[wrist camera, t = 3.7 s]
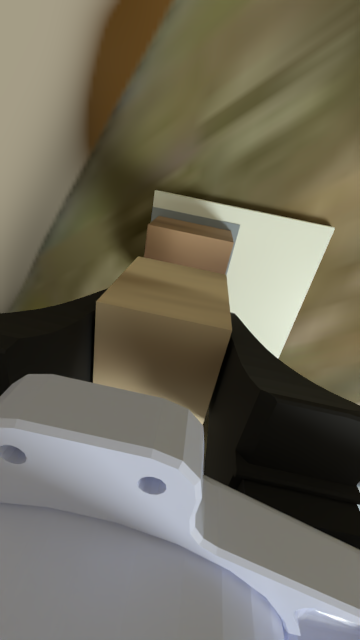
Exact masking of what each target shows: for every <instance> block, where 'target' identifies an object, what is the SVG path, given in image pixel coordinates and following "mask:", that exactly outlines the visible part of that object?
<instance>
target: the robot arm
mask: <svg viewBox="0 0 360 640" xmlns="http://www.w3.org/2000/svg"><path fill="white" fill-rule="evenodd" d="M106 290H107V289H105V290H102V291H100V292H97V293H94V294H91V295H88V296H86V297H83V298H80V299H76V300H73V301H70V302H67V303H63V304H60V305H56V306H51V307H47V308H42V309H36V310H29V311H21V312H13V313H2V314H0V640H360V511H359V508H358V506H357V504H359V505H360V492H359V490H358V487H357V484H358V483H359V481H360V406H359V405H357V404H355V403H353V402H351V401H349V400H346V399H344V398H342V397H340V396H338V395H336V394H333V393H331V392H329V391H327V390H326V389H324V388H322V387H320V386H318V385H316V384H315V383H313V382H311V381H310V380H308V379H306V378H305V377H303V376H301V375H300V374H298V373H297V372H295V371H294V370H292V369H291V368H290V367H288V366H287V365H285V364H284V363H283V362H282V361H280V360H279V359H278V358H277V357H275V356H274V355H273V354H272V353H271V352H270V351H268V350H267V349H266V348H265V347H264V346H263V345H262V344H261V343H260V342H259V341H258V340H257V339H256V338H255V336H254V335H253V334H252V333H251V332H250V331H249V330H248V328H247V327H246V326H245V325H244V324H243V322H242V321H241V320H240V319H239V317H238V316H237V315H236V314H235V313H231V312H230V314H231V324H232V333H231V336H230V339H229V342H228V345H227V349H226V352H225V355H224V358H223V361H222V365H221V368H220V371H219V374H218V378H217V381H216V384H215V387H214V390H213V394H212V397H211V400H210V403H209V424H208V437H207V449H206V460H205V471H204V475H203V462H204V431H203V425H202V424H201V423H200V422H199V420H198V419H197V418H196V417H195V416H194V415H193V413H192V412H191V411H190V410H189V409H187V408H185V407H183V406H181V405H178V404H176V403H174V402H171V401H169V400H167V399H164V398H160V397H155V396H151V395H146V394H141V393H137V392H132V391H128V390H123V389H119V388H114V387H109V386H105V385H100V384H96V383H93V368H94V342H95V317H96V301H97V300H98V299H99V298H100V297H101V296H102V295H103V294H104V292H105V291H106Z"/></svg>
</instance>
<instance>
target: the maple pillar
mask: <svg viewBox="0 0 360 640" xmlns="http://www.w3.org/2000/svg"><path fill="white" fill-rule="evenodd" d="M231 333H232V324H231V314H230V305H229V295H228V286H227V276H226V275H225V274H220V273H216V272H211V271H206V270H201V269H197V268H192V267H187V266H182V265H177V264H173V263H168V262H163V261H158V260H154V259H149V258H144V257H139V256H138V257H137V258H136V259H135V260H134V261H133V262H132V263H131V265H130V266H129V267H128V268H127V269H126V270H125V271H124V272H123V273H122V274H121V275H120V276H119V277H118V279H117V280H116V281H115V282H114V283H113V284H112V285H111V286H110V287H109V288H108V289H107V290H106V291H105V292H104V294H103V295H102V296H101V297H100V298H99V299H98V300H97V301H96V317H95V342H94V368H93V383H96V384H100V385H105V386H109V387H114V388H119V389H123V390H128V391H132V392H137V393H141V394H146V395H151V396H155V397H160V398H164V399H167V400H169V401H171V402H174V403H176V404H178V405H181V406H183V407H185V408H187V409H189V410H190V411H191V412H192V413H193V415H194V416H195V417H196V418H197V419H198V420H199V422H200V423H201V424H202V425H203V422H204V419H205V416H206V413H207V410H208V406H209V403H210V400H211V397H212V394H213V390H214V387H215V384H216V381H217V378H218V374H219V371H220V368H221V365H222V361H223V358H224V355H225V352H226V349H227V345H228V342H229V339H230V336H231Z"/></svg>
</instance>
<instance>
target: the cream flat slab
mask: <svg viewBox="0 0 360 640" xmlns="http://www.w3.org/2000/svg"><path fill="white" fill-rule="evenodd" d="M158 216H162V217H167V218H172V219H176V220H181V221H186V222H191V223H195V224H200V225H205V226H210V227H215V228H219V229H224V230H229V231H231V233H232V237H233V241H234V244H233V247H232V251H231V255H230V258H229V262H228V266H227V270H226V273H225V275H226V276H227V286H228V295H229V305H230V312H231V313H235V314H236V315H237V316H238V317H239V319H240V320H241V321H242V322H243V324H244V325H245V326H246V327H247V328H248V330H249V331H250V332H251V333H252V334H253V335H254V336H255V338H256V339H257V340H258V341H259V342H260V343H261V344H262V345H263V346H264V347H265V348H266V349H267V350H268V351H270V352H271V353H272V354H273V355H274V356H275V357H277V358H279V356H280V354H281V351H282V349H283V347H284V344H285V342H286V340H287V337H288V335H289V333H290V331H291V328H292V326H293V324H294V321H295V319H296V317H297V314H298V312H299V310H300V308H301V305H302V303H303V301H304V298H305V296H306V294H307V291H308V289H309V287H310V285H311V282H312V280H313V278H314V275H315V273H316V271H317V268H318V266H319V264H320V262H321V259H322V257H323V255H324V252H325V250H326V248H327V245H328V243H329V241H330V238H331V236H332V234H333V232H334V229H335V228H334V227H332V226H328V225H323V224H318V223H313V222H308V221H304V220H299V219H294V218H289V217H284V216H280V215H275V214H270V213H265V212H260V211H255V210H251V209H246V208H241V207H236V206H231V205H227V204H222V203H217V202H212V201H207V200H203V199H198V198H193V197H188V196H183V195H179V194H174V193H169V192H164V191H159V190H155V193H154V201H153V208H152V216H151V222H152V221H153V220H154V219H156V218H157V217H158Z"/></svg>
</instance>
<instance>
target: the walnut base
mask: <svg viewBox="0 0 360 640" xmlns="http://www.w3.org/2000/svg"><path fill="white" fill-rule="evenodd" d="M233 244H234V241H233V237H232V233H231V231H229V230H224V229H219V228H215V227H210V226H205V225H200V224H195V223H191V222H186V221H181V220H176V219H172V218H167V217H162V216H158V217H157V218H156V219H154V220H153V221H152V222H151V223H149V224H148V228H147V237H146V245H145V253H144V258H149V259H154V260H158V261H163V262H168V263H173V264H177V265H182V266H187V267H192V268H197V269H201V270H206V271H211V272H216V273H220V274H225V273H226V270H227V266H228V262H229V258H230V255H231V251H232V247H233Z"/></svg>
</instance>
